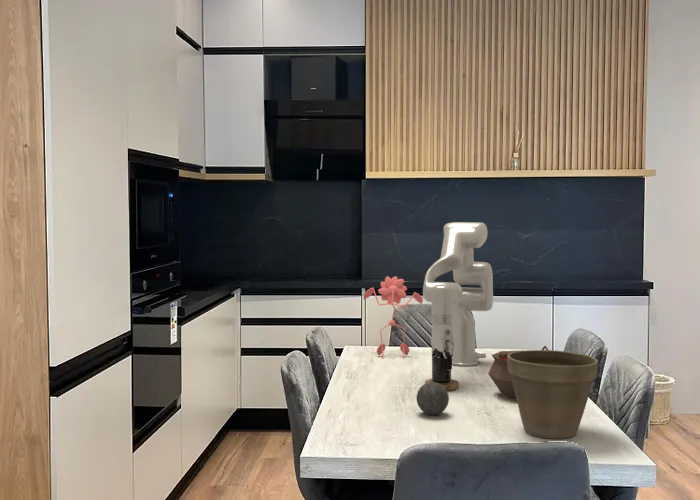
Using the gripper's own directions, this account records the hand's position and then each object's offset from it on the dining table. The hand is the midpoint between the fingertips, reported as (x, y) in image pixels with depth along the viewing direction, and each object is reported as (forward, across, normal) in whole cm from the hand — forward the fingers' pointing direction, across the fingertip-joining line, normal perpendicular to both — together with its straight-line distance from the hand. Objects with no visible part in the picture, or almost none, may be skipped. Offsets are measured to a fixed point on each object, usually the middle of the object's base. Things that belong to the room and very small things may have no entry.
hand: (441, 366), depth 262 cm
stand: (+7, 0, 0) cm, 7 cm away
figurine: (+8, +61, -4) cm, 62 cm away
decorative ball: (+8, -31, +17) cm, 36 cm away
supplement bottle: (+6, 0, 0) cm, 6 cm away
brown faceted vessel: (+8, -19, -22) cm, 30 cm away
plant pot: (+8, -58, -8) cm, 59 cm away
